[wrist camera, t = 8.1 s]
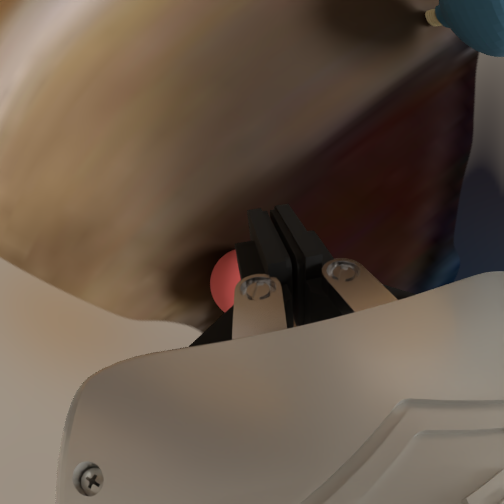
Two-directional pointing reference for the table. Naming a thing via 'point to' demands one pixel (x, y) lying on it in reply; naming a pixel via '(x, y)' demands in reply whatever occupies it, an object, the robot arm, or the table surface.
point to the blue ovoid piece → (473, 23)
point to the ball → (225, 280)
